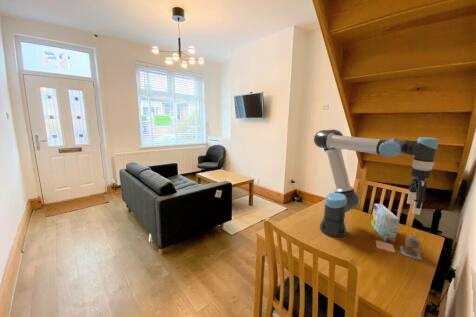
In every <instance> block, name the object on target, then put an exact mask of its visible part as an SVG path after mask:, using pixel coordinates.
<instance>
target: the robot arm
mask: <svg viewBox="0 0 476 317" xmlns="http://www.w3.org/2000/svg"><path fill="white" fill-rule="evenodd" d="M343 134H344V133H342V132H341V131H340V130H337V129H322V130H319V131H318V132H316V133H315V134H314V135H313V136H314V137H313V142H314V145H316V147H318V148H320V149H323V151H324V153H326V154H327V157H328V162H329V166H330V169H331V174H332V178H333V181H334V185H335V189H334V191H333V192H329V193H328V194H326V196H325V199H324V200H325V201H324V209H323V210H324V211H323V218H322V219H321V222H320V224H319V230H320V231H321V232H322V233H323V234H324V235H327V236H329V237H332V238H333V237H335V238H343V237H345V236H346V235H347V228H346V224H345V218H346V217H345V216H346V213H348V212H350V211H351V210H352V211H353V210H354V209H356V208H357V207H358V206H359V204H360V201H361V200H360V199H361V198H360V196H359V194H358V193H357V192H356V191H355V189H354V187H352V186H351V184H350V179H349V177H348V176H349V175H348V172H347V168H346V165H345V164H346V163H345V160H344V157H343V152H342V150H346V151H347V150H348V151H353V152H361V153H368V154H375V155H380V156H383V157H386V158H394V157H396V156H399V155H407V156H413V159H412V165H411V170H410V175H411V176H412V178H411V182H410V184H409V187H408V196H407V200H406V204H408V205H413V208H412V214H414V215H418V216H420V215H421V213H422V212H421V211H422V207H423V203H426V191H427V190H426V189H427V188H426V187H427V184H428V183H427V181H425V179H430V178H431V176H432V172H433V171H432V170H433V167H434V166H435V165H436V163H435V159H436V156H437V151H438V144H439V139H438V138H435V137H426V136H425V137H424V136H420V137H418V139H417V140H412V139H411V140H410V139H401V138H390V139H388V140H387V139H377V138H376V139H375V138H370V137H369V138H366V137H356V136H349V135H347V136H346V135H343Z"/></svg>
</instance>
